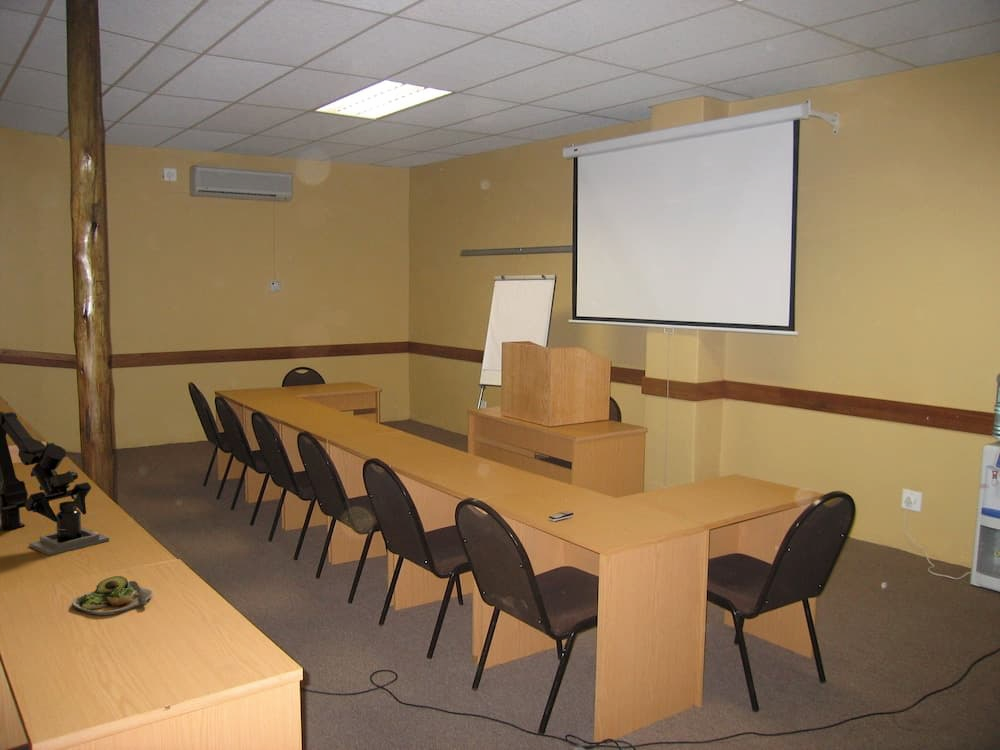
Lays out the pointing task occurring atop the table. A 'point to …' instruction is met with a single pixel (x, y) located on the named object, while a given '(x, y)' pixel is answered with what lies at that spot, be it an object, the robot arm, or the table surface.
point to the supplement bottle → (68, 522)
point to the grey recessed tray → (67, 542)
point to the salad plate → (113, 596)
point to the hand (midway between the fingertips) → (71, 517)
